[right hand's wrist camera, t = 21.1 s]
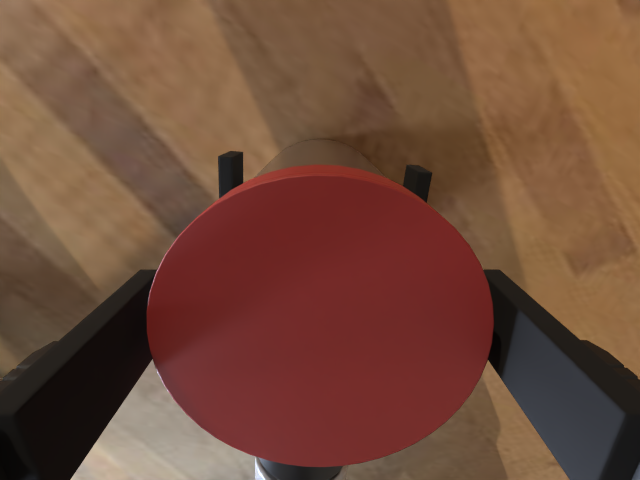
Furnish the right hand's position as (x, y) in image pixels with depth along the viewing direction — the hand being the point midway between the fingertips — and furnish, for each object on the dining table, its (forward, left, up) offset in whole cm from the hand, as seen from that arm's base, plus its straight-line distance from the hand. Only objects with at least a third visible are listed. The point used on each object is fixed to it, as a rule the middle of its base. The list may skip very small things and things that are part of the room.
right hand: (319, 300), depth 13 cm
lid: (0, 0, +2) cm, 2 cm away
